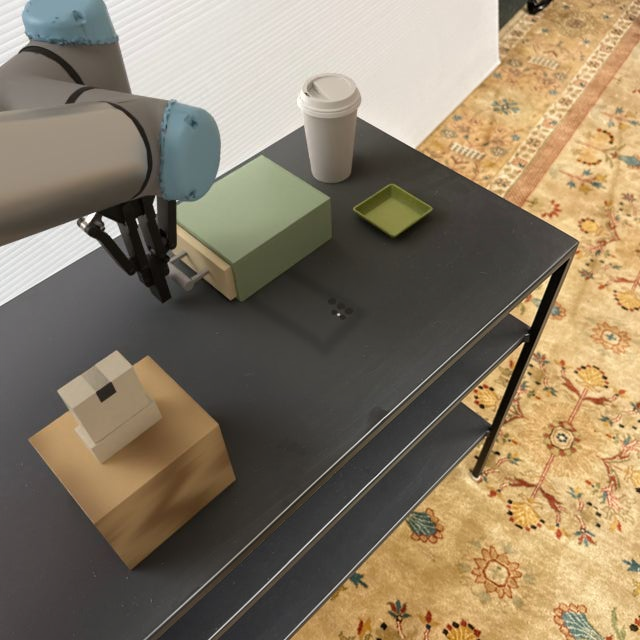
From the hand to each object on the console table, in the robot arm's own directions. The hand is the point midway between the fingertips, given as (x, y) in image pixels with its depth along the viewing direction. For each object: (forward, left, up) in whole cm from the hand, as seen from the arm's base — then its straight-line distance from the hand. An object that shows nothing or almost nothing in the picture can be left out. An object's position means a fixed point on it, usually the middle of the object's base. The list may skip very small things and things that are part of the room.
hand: (161, 295), depth 87 cm
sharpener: (-16, -21, +10) cm, 28 cm away
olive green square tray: (+34, -11, -2) cm, 36 cm away
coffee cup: (+36, +4, -2) cm, 37 cm away
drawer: (+13, 0, -1) cm, 13 cm away
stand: (-17, -21, -2) cm, 27 cm away
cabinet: (+16, 0, -2) cm, 17 cm away
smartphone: (+13, -12, -3) cm, 18 cm away
